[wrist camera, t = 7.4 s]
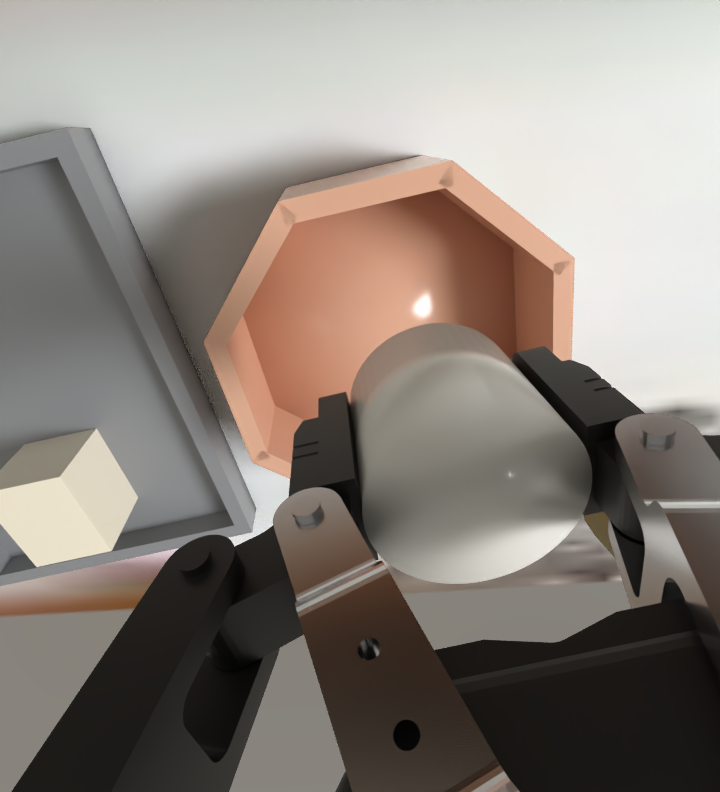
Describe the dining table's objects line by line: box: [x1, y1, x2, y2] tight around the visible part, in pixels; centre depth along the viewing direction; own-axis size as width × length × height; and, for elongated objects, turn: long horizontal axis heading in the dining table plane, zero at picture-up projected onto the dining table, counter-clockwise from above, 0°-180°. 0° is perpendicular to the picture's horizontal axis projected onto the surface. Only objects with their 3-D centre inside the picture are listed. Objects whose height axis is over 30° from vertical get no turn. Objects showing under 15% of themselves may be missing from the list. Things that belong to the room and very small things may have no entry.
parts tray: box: [0, 127, 256, 586], centre depth 23 cm, size 21×16×2 cm
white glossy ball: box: [350, 323, 592, 584], centre depth 10 cm, size 4×4×4 cm
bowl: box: [204, 155, 575, 479], centre depth 21 cm, size 15×15×5 cm
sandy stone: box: [0, 428, 138, 567], centre depth 24 cm, size 5×4×4 cm
